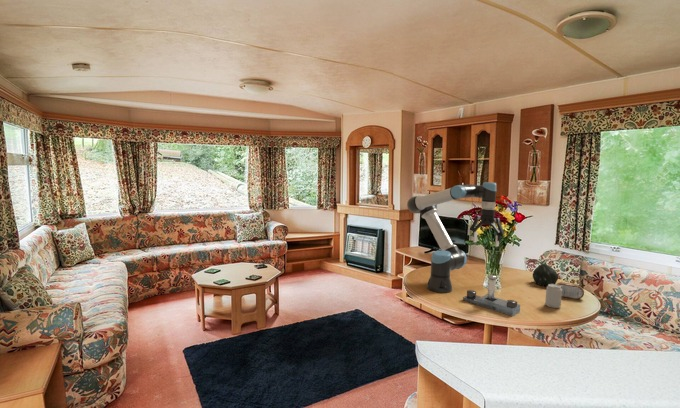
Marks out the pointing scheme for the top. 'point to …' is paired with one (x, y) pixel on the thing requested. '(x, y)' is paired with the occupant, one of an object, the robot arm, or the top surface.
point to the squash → (545, 275)
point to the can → (553, 296)
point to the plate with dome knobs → (493, 303)
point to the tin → (571, 290)
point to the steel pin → (491, 287)
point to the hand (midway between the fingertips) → (485, 244)
